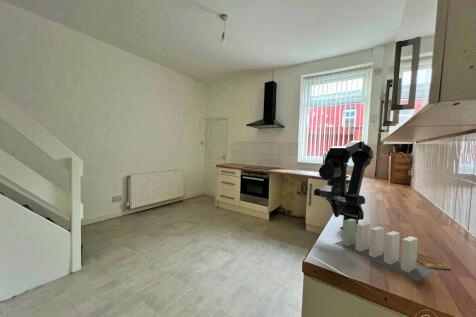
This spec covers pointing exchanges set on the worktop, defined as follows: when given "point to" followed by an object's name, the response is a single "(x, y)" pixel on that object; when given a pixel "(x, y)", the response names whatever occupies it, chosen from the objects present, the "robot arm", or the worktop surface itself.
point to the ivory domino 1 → (362, 236)
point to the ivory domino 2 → (376, 241)
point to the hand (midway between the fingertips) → (336, 216)
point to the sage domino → (349, 232)
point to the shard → (431, 262)
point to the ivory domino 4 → (409, 253)
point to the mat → (414, 274)
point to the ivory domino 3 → (391, 247)
